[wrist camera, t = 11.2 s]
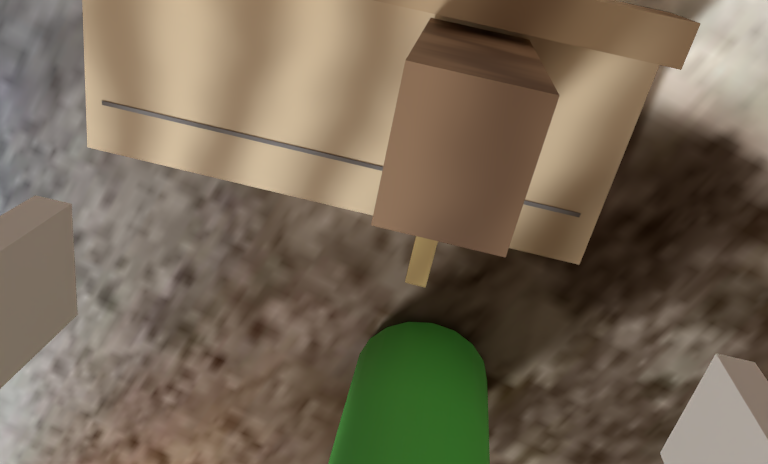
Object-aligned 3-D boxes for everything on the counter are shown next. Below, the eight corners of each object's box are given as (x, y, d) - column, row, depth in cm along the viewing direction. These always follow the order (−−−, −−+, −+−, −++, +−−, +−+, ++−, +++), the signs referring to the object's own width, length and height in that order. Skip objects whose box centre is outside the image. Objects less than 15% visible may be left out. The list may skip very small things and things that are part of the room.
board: (98, 141, 37) (56, 163, 33) (92, -116, 31) (38, -124, 27) (576, 255, 36) (588, 291, 32) (672, 13, 30) (700, 23, 26)
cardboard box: (378, 256, 36) (336, 390, 25) (430, 17, 30) (405, 60, 19) (458, 276, 36) (451, 419, 25) (529, 39, 30) (559, 95, 19)
